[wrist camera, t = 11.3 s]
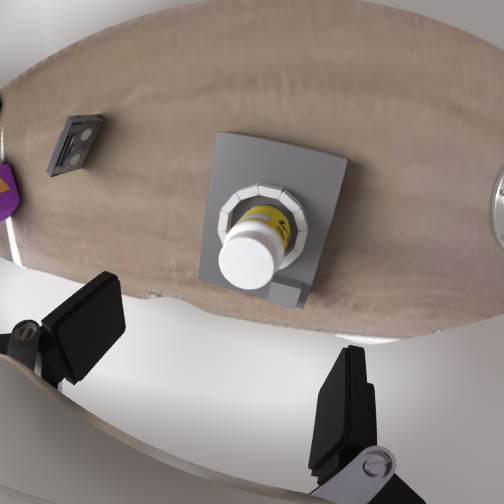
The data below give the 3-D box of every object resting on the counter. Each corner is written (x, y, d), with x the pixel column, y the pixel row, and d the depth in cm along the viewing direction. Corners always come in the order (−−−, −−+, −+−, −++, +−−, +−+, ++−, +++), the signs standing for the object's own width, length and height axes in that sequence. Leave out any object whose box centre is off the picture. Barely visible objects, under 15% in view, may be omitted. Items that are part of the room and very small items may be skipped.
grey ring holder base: (343, 157, 26) (349, 161, 21) (305, 291, 33) (302, 317, 28) (228, 131, 27) (211, 131, 23) (208, 265, 34) (192, 286, 30)
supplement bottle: (291, 250, 27) (280, 297, 20) (244, 248, 28) (216, 292, 21) (291, 202, 25) (279, 233, 18) (241, 201, 26) (209, 231, 19)
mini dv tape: (98, 114, 29) (66, 116, 24) (104, 120, 29) (72, 122, 24) (75, 162, 33) (45, 170, 27) (81, 168, 33) (50, 177, 27)
